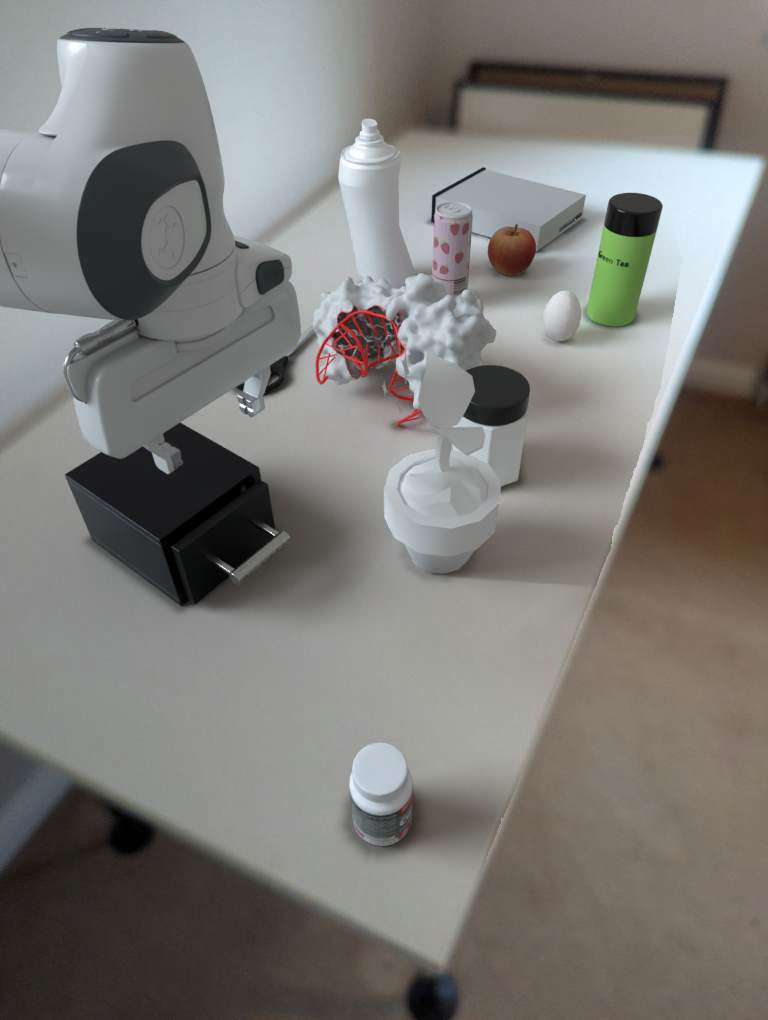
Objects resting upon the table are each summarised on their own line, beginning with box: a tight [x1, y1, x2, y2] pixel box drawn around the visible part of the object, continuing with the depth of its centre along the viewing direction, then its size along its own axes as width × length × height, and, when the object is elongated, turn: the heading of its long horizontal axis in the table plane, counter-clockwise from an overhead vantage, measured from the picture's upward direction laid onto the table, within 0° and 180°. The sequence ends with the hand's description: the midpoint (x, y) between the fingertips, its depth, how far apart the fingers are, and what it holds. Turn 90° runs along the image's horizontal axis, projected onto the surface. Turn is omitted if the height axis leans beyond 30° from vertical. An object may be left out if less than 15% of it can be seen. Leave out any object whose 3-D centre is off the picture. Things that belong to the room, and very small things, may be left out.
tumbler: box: [586, 192, 664, 328], centre depth 107 cm, size 8×8×17 cm
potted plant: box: [380, 349, 502, 575], centre depth 69 cm, size 13×12×25 cm
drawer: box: [169, 479, 292, 605], centre depth 75 cm, size 18×12×8 cm, turn 52°
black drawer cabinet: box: [64, 422, 262, 607], centre depth 77 cm, size 15×13×10 cm
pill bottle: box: [348, 742, 414, 847], centre depth 56 cm, size 5×5×8 cm
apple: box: [487, 224, 537, 276], centre depth 121 cm, size 8×8×8 cm
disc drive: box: [430, 166, 587, 252], centre depth 137 cm, size 18×22×5 cm
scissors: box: [235, 324, 315, 394], centre depth 106 cm, size 7×1×20 cm
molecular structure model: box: [312, 272, 497, 427], centre depth 93 cm, size 20×18×25 cm
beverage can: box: [431, 202, 473, 296], centre depth 111 cm, size 6×6×15 cm
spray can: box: [337, 118, 417, 289], centre depth 112 cm, size 12×11×25 cm
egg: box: [542, 289, 582, 342], centre depth 106 cm, size 5×5×8 cm
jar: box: [451, 364, 531, 487], centre depth 84 cm, size 9×8×12 cm
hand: (213, 438), depth 63 cm, fingers open, 8 cm apart
